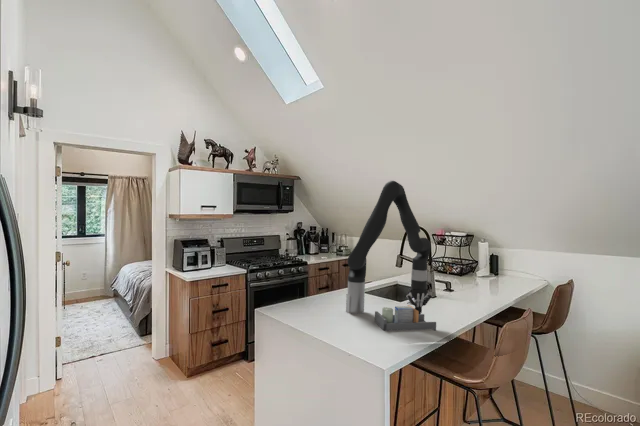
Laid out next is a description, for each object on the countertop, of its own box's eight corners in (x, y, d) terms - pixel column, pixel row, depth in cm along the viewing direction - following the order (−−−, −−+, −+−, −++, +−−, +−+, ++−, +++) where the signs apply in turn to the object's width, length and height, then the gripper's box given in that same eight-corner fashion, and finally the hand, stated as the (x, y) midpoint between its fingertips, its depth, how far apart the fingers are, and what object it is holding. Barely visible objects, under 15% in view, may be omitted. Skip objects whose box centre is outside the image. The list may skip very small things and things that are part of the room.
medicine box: (409, 323, 161) (410, 305, 161) (413, 326, 156) (413, 308, 156) (394, 323, 160) (394, 305, 160) (397, 326, 155) (397, 308, 155)
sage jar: (384, 327, 154) (384, 310, 154) (380, 323, 159) (380, 307, 159) (394, 327, 155) (394, 310, 155) (390, 323, 160) (390, 307, 160)
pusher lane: (383, 332, 150) (384, 320, 150) (374, 323, 162) (375, 311, 162) (436, 330, 154) (436, 318, 154) (423, 321, 167) (423, 310, 167)
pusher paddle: (415, 328, 154) (416, 311, 154) (406, 321, 164) (407, 305, 163) (418, 328, 154) (418, 311, 154) (409, 321, 164) (409, 305, 164)
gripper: (427, 276, 164) (426, 311, 164) (403, 277, 162) (402, 311, 162) (435, 280, 157) (434, 316, 157) (410, 280, 154) (408, 316, 155)
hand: (418, 313), depth 160 cm, fingers closed
